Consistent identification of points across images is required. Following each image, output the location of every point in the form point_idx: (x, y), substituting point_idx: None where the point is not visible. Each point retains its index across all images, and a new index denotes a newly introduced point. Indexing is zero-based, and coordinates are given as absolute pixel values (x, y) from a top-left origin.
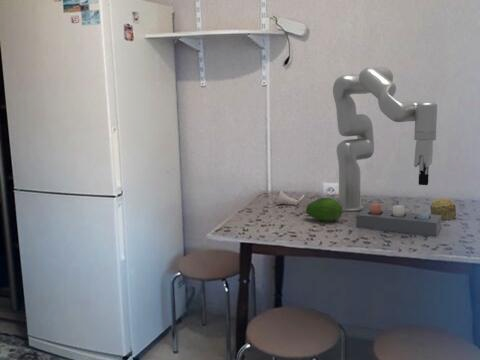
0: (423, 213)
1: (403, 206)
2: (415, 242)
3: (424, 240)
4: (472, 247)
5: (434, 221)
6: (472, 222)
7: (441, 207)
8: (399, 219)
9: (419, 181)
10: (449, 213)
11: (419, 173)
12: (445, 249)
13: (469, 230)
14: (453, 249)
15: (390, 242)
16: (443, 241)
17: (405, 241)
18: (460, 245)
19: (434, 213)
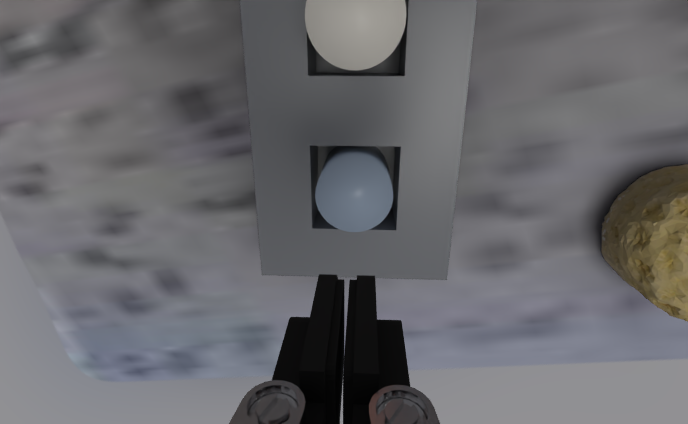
0: (373, 197)
1: (367, 58)
2: (135, 174)
3: (187, 205)
4: (196, 370)
5: (290, 261)
6: (578, 352)
7: (641, 258)
8: (244, 59)
9: (315, 304)
10: (626, 279)
11: (242, 405)
12: (115, 295)
13: (431, 350)
14: (133, 319)
15: (61, 60)
16: (216, 277)
17: (122, 128)
18: (197, 335)
19: (634, 200)
